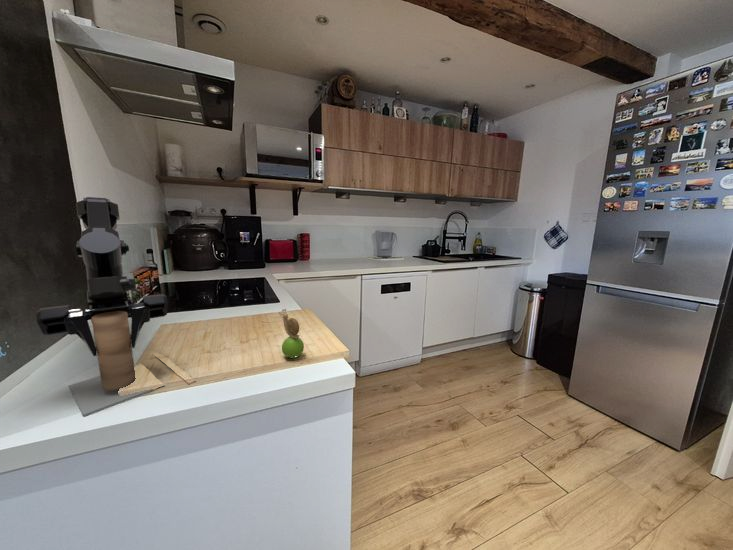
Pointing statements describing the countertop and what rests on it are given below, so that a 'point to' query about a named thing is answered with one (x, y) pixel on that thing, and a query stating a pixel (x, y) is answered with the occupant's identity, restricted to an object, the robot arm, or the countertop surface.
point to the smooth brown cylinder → (114, 349)
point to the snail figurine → (291, 337)
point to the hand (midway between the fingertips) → (114, 350)
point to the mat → (98, 396)
